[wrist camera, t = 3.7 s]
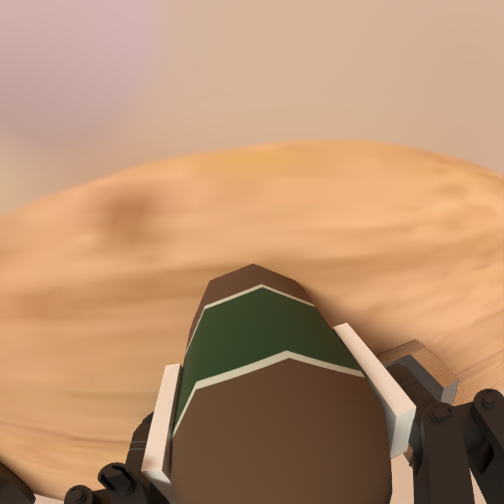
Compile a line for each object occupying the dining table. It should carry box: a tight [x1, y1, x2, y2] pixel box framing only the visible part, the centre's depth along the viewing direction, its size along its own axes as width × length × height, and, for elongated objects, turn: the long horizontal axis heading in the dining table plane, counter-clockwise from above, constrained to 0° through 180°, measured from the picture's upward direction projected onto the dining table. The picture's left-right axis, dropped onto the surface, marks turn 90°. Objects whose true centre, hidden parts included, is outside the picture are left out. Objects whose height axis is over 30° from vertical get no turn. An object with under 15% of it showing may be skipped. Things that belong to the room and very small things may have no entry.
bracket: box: [375, 339, 459, 468], centre depth 20 cm, size 13×13×6 cm
